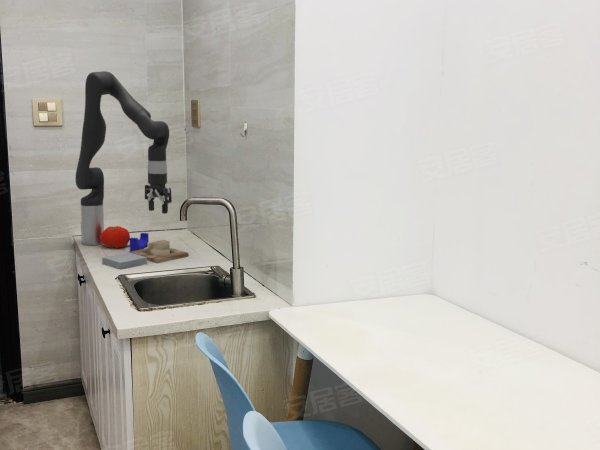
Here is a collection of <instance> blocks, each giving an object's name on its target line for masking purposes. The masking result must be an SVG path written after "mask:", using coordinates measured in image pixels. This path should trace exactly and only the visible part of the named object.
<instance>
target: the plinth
mask: <svg viewBox="0 0 600 450" xmlns="http://www.w3.org/2000/svg"><path fill="white" fill-rule="evenodd" d="M101 261H102V265H106V266H109V267H113V268H115V269H118V270H124V269H129V268H133V267H137V266H142V265H143V266H144V265H147V264H148V261H147V257H144V256H140V255H137V254H133V253H130V251H128V252H124V253H123V252H122V253H117V254H112V255H108V256H102V257H101Z"/></svg>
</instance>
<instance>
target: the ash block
mask: <svg viewBox="0 0 600 450" xmlns="http://www.w3.org/2000/svg"><path fill="white" fill-rule="evenodd" d="M170 243H171V242H170V240H167V239H159V240H154V241H149V242H147V245H148V247H147V248H148V254H150V255H153V256H157V257H158V256H162V255H167V254H170V248H171V245H170Z"/></svg>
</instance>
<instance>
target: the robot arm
mask: <svg viewBox="0 0 600 450" xmlns="http://www.w3.org/2000/svg"><path fill="white" fill-rule="evenodd" d="M84 89H85V91H84V93H85V94H84V95H85V96H84V97H85V98H84V104H85V105H84V114H83V115H84V116H83V123H82V132H81V142H80V143H81V144H80V151H79V158H78V162H77V166H76V171H75V185H76V187H77V188H78V190H84V191H85V190H86V191H87V190H90V192H89V193H88V194H87V195H85V196H83V197H81V199H80V213H81V214H80V216H81V217H80V219H81V221H80V233H81V237H80V238H81V244H82V245H84V246H85V245H86V246H97V245H98V246H99V244H100V245H102V244H103V243H102V242H101V241H100V236H101V233H102V232H103V231H104V230H105V222H104V221H105V220H104V219H105V218H104V217H105V216H104V197H105V194H104V193H105V176H104V172H103V170H102V169H101V168H100V167H90V165H91V164H92V160H93V158H94V157H95V156H96V155H97V153H98V152H99V151H100V149H101V148H102V147H103V145H104V143H105V140H106V132H107V124H106V121H105V119H104V116H103V114H102V111H101V102H102V96H105V95H109V96H111V97H113V98H114V99H116V100H117V101H118V103H119V105H120V107H121V109H122V112H123V113H124V115H125V116H126V117H127V118H128V119H130V120H131V121H132V122H133V123H134V124H135V125H136V126H137V127H138V129H139V130H140V131H141V133H142V135H143V136H145V137H146V138H147V139H150V140H153V142H152V145H149V146H148V148H147V149H148V150H147V183H148V184H145V185H144V200H147V202H148V203H147V204H148V211H149V212H151V211H155V199H156V198H157V199H159V201H161V202H160V203H161V213H162V214H168V212H169V207H168V206H169V204H171V203H172V202H173V201H172V189H171V187H166V185H167V184H168V164H167V148H168V143H169V140H170V139H169V138H170V128H169V126H168V124H167V122H165V121H163V120H159V121H158V120H157V121H155V120H153V119H152V115H151V113H150V112H149V111H148V109H146V108H145V106H143V105H141V104H140V102H138V101H137V100H136V99H134V98H135V97H133V96H132V95H131V94H130V93H129V92H128V91H127V89H126V87H124V86H123V84H122V83H121V82H120V81H119V80H118V78H117V77H116V76H115V75H114V74H113V73H111V72H110V71H107V70H105V71H103V70H102V71H93V72H90V73H89V74H88V75H87V76H86V79H85V88H84ZM103 245H104V244H103Z"/></svg>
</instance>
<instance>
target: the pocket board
mask: <svg viewBox="0 0 600 450" xmlns="http://www.w3.org/2000/svg"><path fill="white" fill-rule="evenodd" d="M129 252H130V253H133V254H137V255H140V256H144V257H147V262H151V263H155V264H159V263H164V262H167V261H168V262H169V261H173V260H178V259H183V258H186V257H189V252H187V251H183V250H180V249H176V248H171V247H170V254H167V255H162V256H158V257H157V256H153V255H150V254H148V247H146V248H144V249H140V250H135V251H130V250H129Z"/></svg>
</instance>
